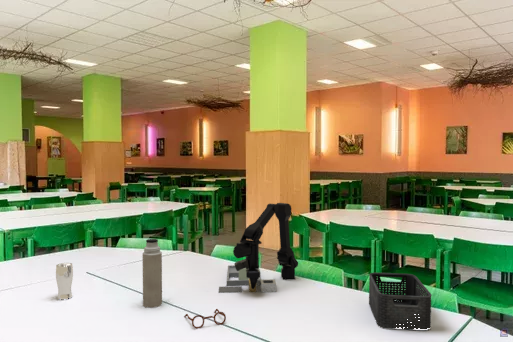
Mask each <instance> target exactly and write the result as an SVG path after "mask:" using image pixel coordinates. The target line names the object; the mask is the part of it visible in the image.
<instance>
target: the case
mask: <svg viewBox="0 0 513 342" xmlns="http://www.w3.org/2000/svg"><path fill="white" fill-rule="evenodd" d="M258 270H259V271H260V268H259V269H258ZM226 271H227V272H226V282H225V283H226V287H232V286H242V287H249V280H239V279H234V278H239V271H237V270H236V268H235V265H232V264H231V265H228V266H227V270H226ZM233 277H234V278H233ZM230 278H231V279H230ZM233 279H234V280H233ZM260 280H262V278H261V276H260V277H259V278H258V280H257V283H256V286H260Z"/></svg>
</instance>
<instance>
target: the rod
mask: <svg viewBox="0 0 513 342" xmlns="http://www.w3.org/2000/svg"><path fill="white" fill-rule="evenodd" d="M248 292H249V293H256V292H257V285H255V288H254V289H252V288H251V283H250V279H249V286H248Z"/></svg>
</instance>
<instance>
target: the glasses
mask: <svg viewBox="0 0 513 342" xmlns="http://www.w3.org/2000/svg"><path fill="white" fill-rule="evenodd" d="M213 313H214V315H209V316H205V317H204V316H203V315H201V314H197V315H194V316H193V317H190V316H189V314H188V313H185V315H184V316H183V318H187V319H188V320H189V321H191V326H192V327H193V328H194V329H195V330H196V329H201V328H203V327H204V325H205V320H206V319H213V321H214V324H215V325H217V326H219V325H220V326H221V325H224V324H225V322H226V320H227V318H226V313H225V312H223V311H220V310H219V309H218V308H216V309H215V310H214V311H213ZM218 315H220V316H223V321H222V322H217V320H216V317H217V316H218ZM199 317H200V318H201V319H202V322H201V323H202V324H201V325H200V326H195V323H194V320H195V319H196V318H199Z"/></svg>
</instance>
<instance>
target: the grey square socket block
mask: <svg viewBox="0 0 513 342" xmlns="http://www.w3.org/2000/svg"><path fill="white" fill-rule="evenodd" d="M259 286H260V287H259V288H260V293H276V292H277V282H276V279H274V278H273V279H261V280H260V285H259Z"/></svg>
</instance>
